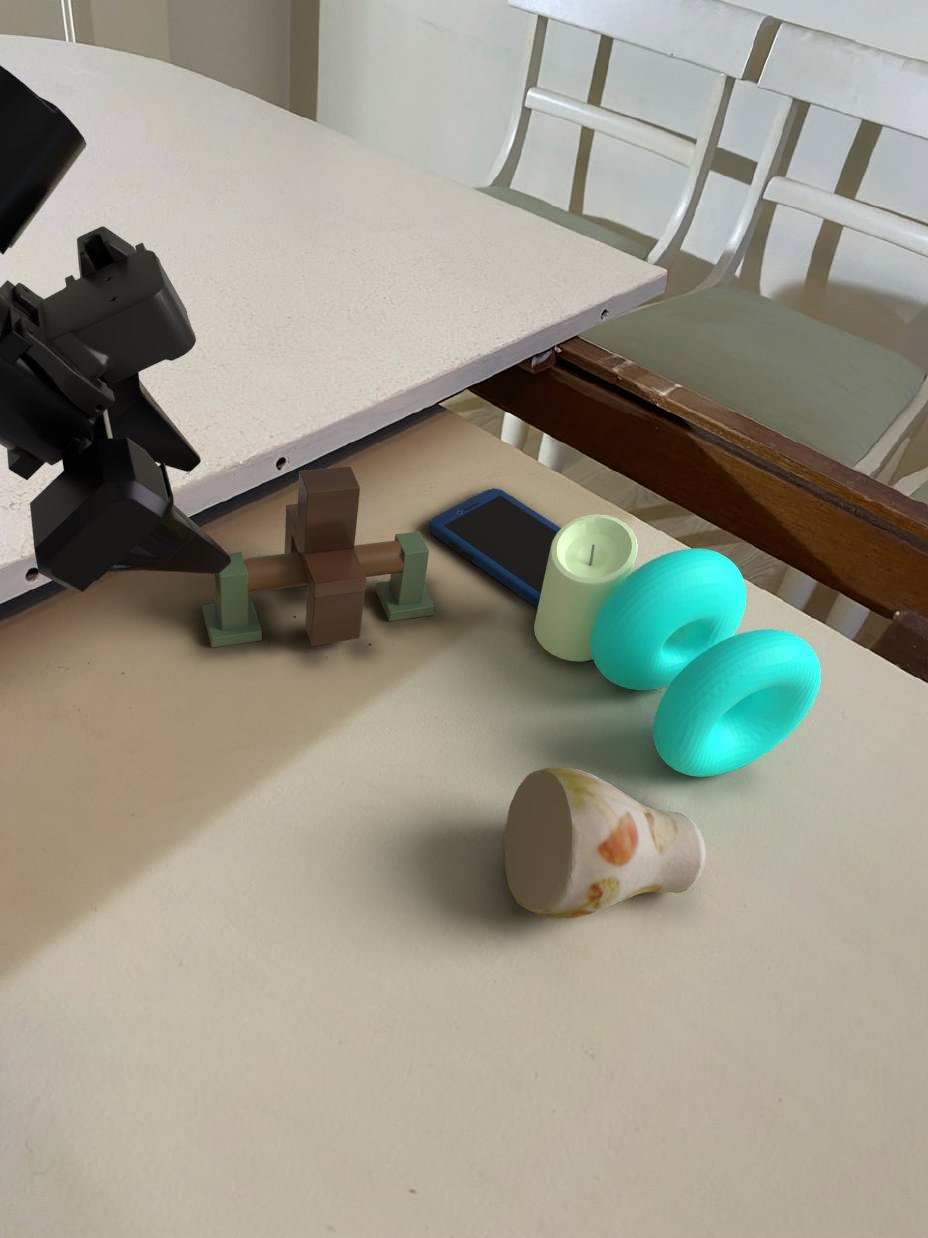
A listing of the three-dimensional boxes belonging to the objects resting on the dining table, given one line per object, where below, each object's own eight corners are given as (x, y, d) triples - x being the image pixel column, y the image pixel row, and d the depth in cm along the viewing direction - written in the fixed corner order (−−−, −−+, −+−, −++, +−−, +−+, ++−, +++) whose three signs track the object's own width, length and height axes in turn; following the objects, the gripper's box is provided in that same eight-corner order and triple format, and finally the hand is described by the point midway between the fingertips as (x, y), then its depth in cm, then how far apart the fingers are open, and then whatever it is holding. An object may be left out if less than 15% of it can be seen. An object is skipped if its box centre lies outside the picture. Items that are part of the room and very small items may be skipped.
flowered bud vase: (725, 928, 52) (701, 869, 44) (538, 958, 54) (482, 907, 46) (696, 790, 56) (668, 712, 48) (523, 823, 58) (468, 754, 50)
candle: (571, 675, 63) (596, 581, 58) (517, 626, 66) (536, 530, 60) (627, 640, 66) (656, 546, 60) (573, 594, 68) (596, 499, 62)
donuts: (651, 805, 57) (704, 679, 50) (566, 680, 63) (603, 553, 56) (793, 762, 60) (860, 640, 54) (699, 648, 67) (748, 526, 60)
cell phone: (576, 636, 66) (578, 627, 65) (423, 528, 72) (424, 520, 72) (642, 590, 70) (645, 581, 70) (492, 492, 76) (494, 484, 76)
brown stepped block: (360, 639, 62) (373, 517, 55) (311, 646, 61) (319, 523, 54) (329, 560, 67) (339, 438, 60) (283, 565, 66) (288, 442, 59)
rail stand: (211, 648, 61) (209, 584, 58) (202, 614, 63) (199, 550, 60) (433, 615, 66) (443, 554, 62) (418, 585, 68) (427, 524, 64)
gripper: (92, 305, 37) (365, 521, 48) (54, 127, 49) (277, 331, 60) (-104, 504, 39) (198, 665, 51) (-94, 286, 52) (147, 454, 63)
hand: (209, 512), depth 56 cm, fingers open, 9 cm apart
